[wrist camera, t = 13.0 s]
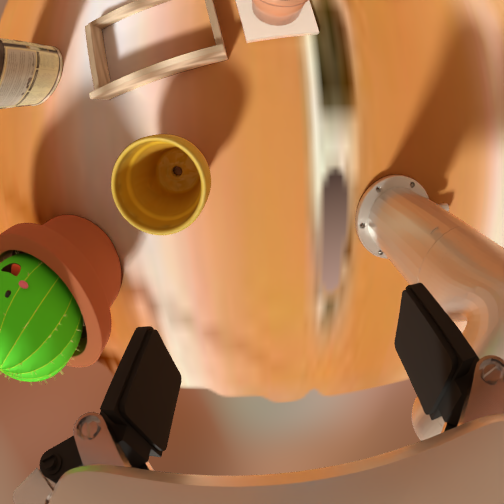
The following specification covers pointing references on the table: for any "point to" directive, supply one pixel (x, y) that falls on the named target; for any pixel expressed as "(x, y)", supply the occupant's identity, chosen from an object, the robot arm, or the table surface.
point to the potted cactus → (55, 296)
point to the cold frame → (153, 72)
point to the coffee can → (27, 73)
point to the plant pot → (160, 184)
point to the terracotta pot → (277, 11)
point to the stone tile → (263, 31)
